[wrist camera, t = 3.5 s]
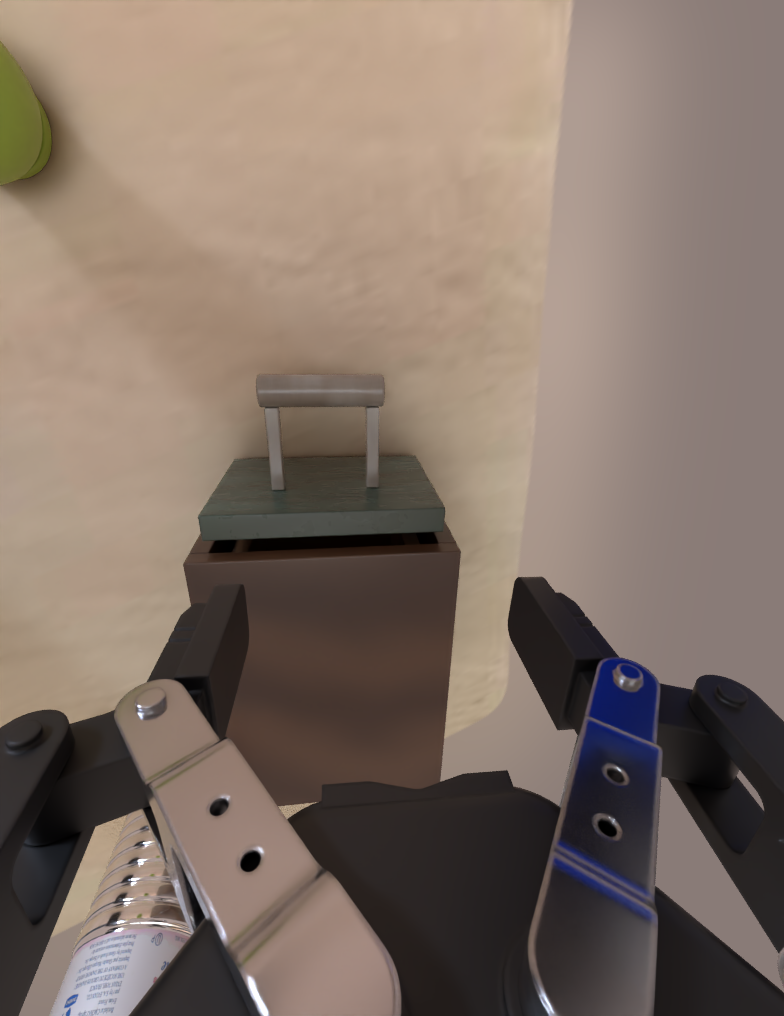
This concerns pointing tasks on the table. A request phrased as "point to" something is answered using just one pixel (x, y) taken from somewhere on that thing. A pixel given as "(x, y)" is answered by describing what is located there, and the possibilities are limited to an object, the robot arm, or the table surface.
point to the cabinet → (340, 660)
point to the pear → (20, 124)
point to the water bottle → (124, 930)
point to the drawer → (321, 481)
